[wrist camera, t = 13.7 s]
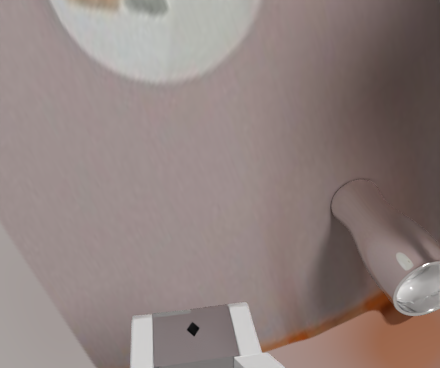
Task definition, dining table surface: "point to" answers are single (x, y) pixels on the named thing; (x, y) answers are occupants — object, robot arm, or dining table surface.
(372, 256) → the beer glass
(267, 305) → the dining table surface
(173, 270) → the dining table surface
